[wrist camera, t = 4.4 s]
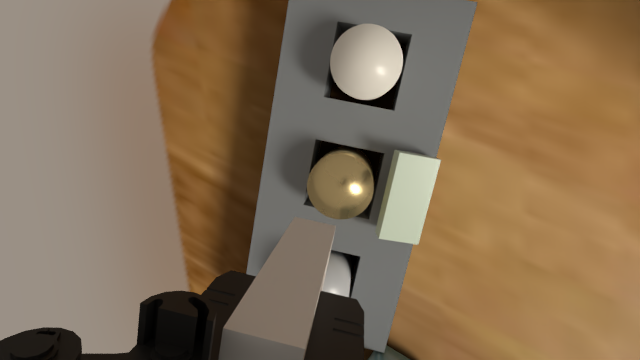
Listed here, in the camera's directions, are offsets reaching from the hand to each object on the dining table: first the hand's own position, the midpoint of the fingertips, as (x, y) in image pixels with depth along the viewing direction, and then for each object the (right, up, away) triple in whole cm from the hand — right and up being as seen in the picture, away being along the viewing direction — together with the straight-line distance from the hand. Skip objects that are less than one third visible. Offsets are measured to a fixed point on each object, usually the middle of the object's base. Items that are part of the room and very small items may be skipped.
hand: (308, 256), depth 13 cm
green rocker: (+6, +2, +13) cm, 14 cm away
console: (+3, +4, +17) cm, 18 cm away
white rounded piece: (+4, +11, +14) cm, 18 cm away
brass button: (+2, +3, +16) cm, 16 cm away
